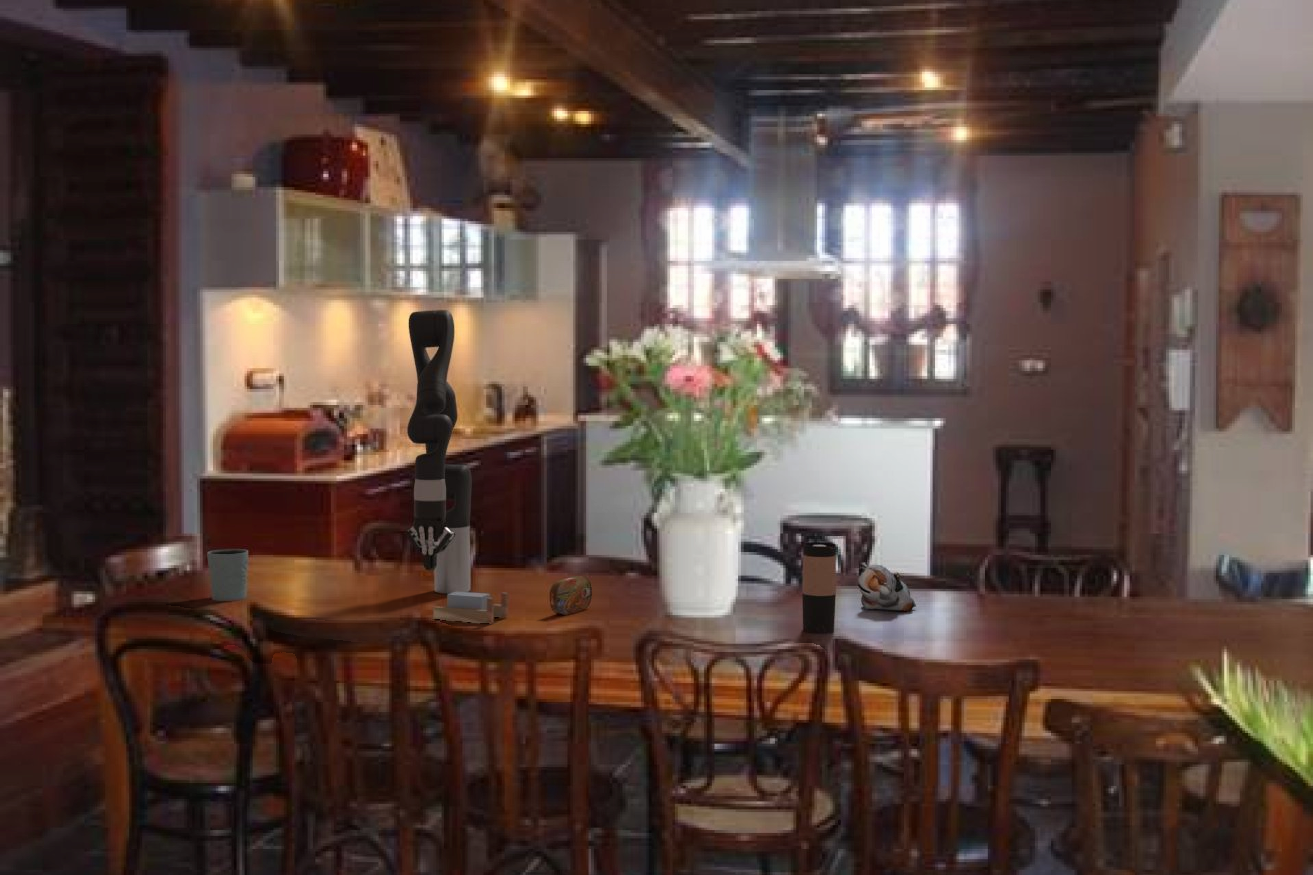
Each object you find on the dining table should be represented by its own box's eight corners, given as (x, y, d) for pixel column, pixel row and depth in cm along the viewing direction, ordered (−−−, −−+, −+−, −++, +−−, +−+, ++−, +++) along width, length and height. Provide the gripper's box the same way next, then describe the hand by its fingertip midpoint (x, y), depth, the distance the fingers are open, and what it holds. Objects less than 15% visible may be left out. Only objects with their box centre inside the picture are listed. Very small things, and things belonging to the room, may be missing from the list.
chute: (451, 613, 371) (451, 588, 371) (508, 617, 366) (508, 592, 366) (433, 619, 363) (433, 594, 363) (491, 624, 358) (491, 598, 357)
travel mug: (799, 627, 357) (800, 541, 355) (831, 626, 357) (832, 541, 356) (805, 633, 349) (806, 546, 348) (838, 633, 350) (839, 546, 348)
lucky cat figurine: (924, 611, 377) (911, 565, 371) (880, 632, 375) (867, 586, 369) (897, 584, 390) (884, 540, 384) (855, 604, 388) (841, 559, 382)
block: (456, 616, 368) (456, 591, 368) (490, 618, 365) (489, 593, 365) (447, 619, 364) (447, 594, 364) (481, 622, 361) (481, 596, 361)
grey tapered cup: (237, 602, 384) (236, 554, 383) (200, 600, 386) (199, 553, 385) (255, 595, 394) (255, 549, 393) (219, 593, 396) (218, 547, 395)
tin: (557, 617, 367) (557, 582, 366) (546, 616, 369) (547, 581, 368) (593, 607, 380) (593, 574, 379) (582, 606, 382) (582, 573, 381)
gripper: (462, 497, 367) (462, 569, 368) (413, 495, 372) (413, 566, 373) (447, 500, 360) (447, 573, 361) (397, 498, 365) (397, 570, 366)
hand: (430, 569), depth 367 cm, fingers closed
